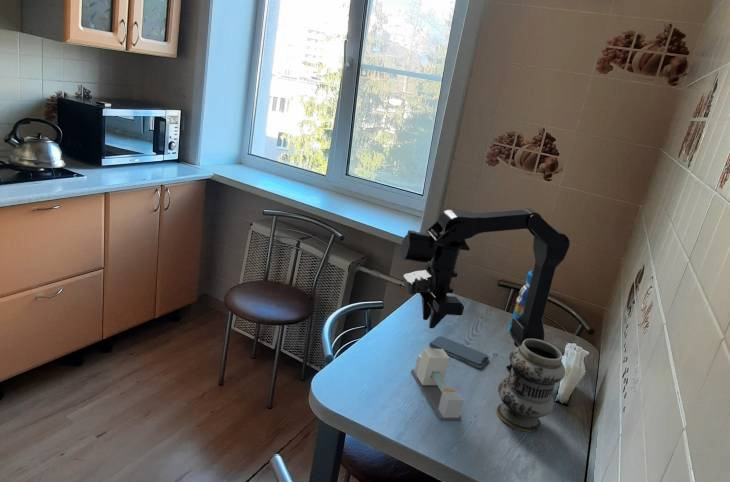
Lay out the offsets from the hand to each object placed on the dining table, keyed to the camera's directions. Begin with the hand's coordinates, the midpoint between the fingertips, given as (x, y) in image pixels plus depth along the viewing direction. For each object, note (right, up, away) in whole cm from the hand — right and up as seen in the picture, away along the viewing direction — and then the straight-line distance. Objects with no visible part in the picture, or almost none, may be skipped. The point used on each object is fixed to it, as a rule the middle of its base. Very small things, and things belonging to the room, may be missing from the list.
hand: (428, 323), depth 126 cm
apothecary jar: (+19, -20, -9) cm, 29 cm away
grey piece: (+1, -15, -7) cm, 17 cm away
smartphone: (+10, -11, +15) cm, 21 cm away
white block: (0, -13, -4) cm, 13 cm away
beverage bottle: (+32, -9, +34) cm, 48 cm away
